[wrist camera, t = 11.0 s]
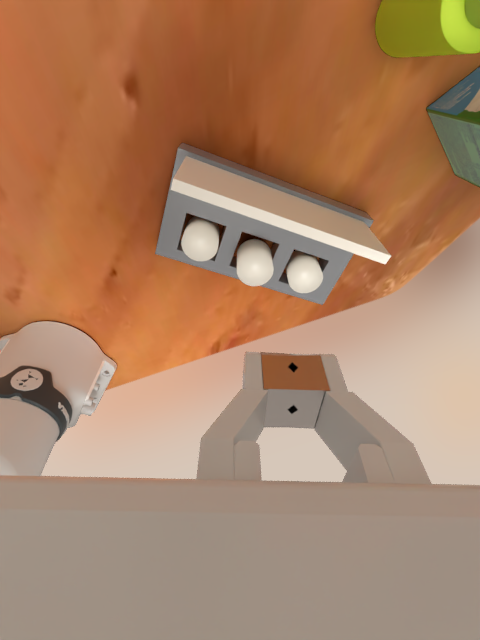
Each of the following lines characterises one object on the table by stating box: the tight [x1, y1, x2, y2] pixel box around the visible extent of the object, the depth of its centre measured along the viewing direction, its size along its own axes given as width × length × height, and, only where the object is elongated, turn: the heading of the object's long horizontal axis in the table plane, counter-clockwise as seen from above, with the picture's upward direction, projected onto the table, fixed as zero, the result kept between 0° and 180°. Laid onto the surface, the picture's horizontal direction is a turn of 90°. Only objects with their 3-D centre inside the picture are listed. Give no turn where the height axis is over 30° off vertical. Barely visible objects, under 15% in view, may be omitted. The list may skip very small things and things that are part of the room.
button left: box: [181, 216, 220, 261], centre depth 42 cm, size 4×4×4 cm
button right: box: [285, 250, 323, 293], centre depth 44 cm, size 4×4×4 cm
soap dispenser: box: [375, 0, 480, 58], centre depth 23 cm, size 6×7×20 cm
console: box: [155, 143, 391, 305], centre depth 39 cm, size 13×24×12 cm, turn 71°
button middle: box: [237, 239, 274, 286], centre depth 41 cm, size 4×4×4 cm
